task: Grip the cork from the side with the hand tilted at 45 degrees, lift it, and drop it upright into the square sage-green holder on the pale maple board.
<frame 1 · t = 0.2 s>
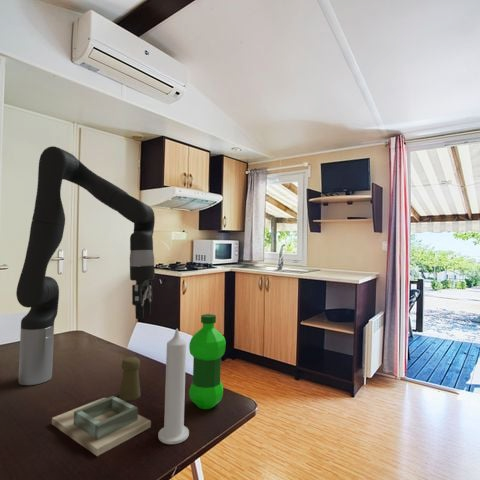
hand: (143, 316, 101), 22 cm above the table, tool pointing down, fingers open, 8 cm apart
plastic bottle: (206, 405, 91), on the table
candle: (173, 436, 76), on the table
cork: (129, 396, 95), on the table
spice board: (101, 425, 79), on the table
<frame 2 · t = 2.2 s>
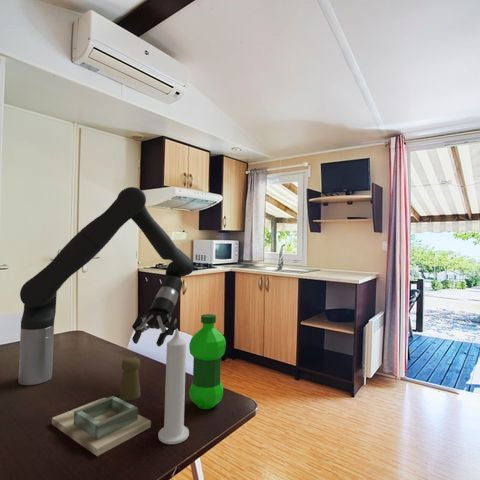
hand: (146, 343, 103), 13 cm above the table, tool tilted 45°, fingers open, 8 cm apart
nothing on the table moved.
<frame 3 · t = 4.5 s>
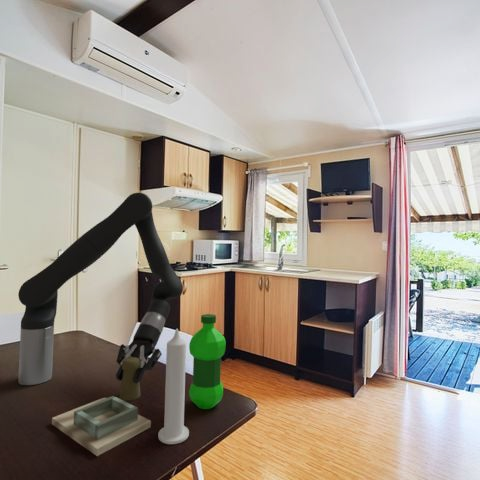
hand: (126, 380, 94), 5 cm above the table, tool tilted 45°, fingers closed on cork, 5 cm apart
cork: (129, 396, 95), on the table, touching gripper
everything else where it was.
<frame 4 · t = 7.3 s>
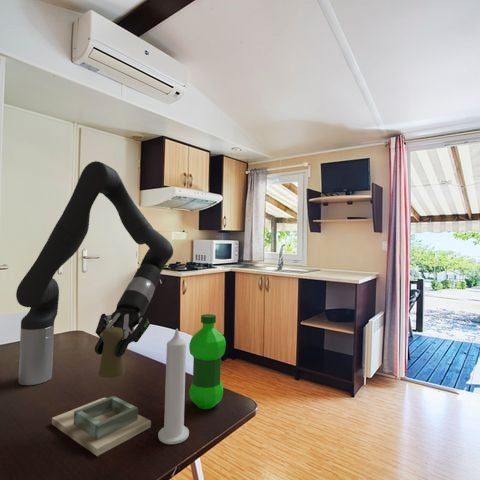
hand: (107, 354, 78), 18 cm above the table, tool tilted 45°, fingers closed on cork, 5 cm apart
cork: (111, 373, 80), point 13 cm above the table, touching gripper
everything else where it was.
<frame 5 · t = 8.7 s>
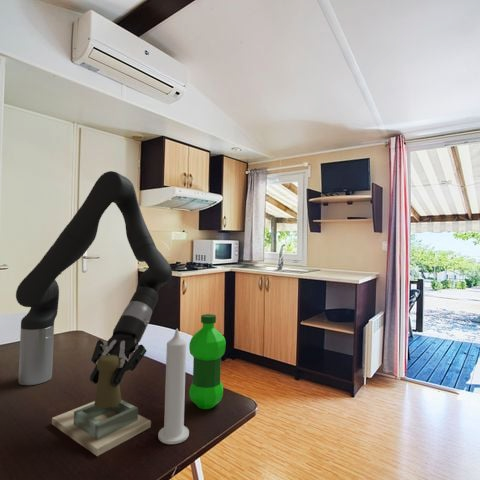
hand: (103, 383, 77), 11 cm above the table, tool tilted 45°, fingers closed on cork, 5 cm apart
cork: (108, 402, 78), point 6 cm above the table, touching gripper
everything else where it was.
when the fingers open (7 cm above the table, at t = 9.9 s): cork stays where it is, resting on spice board.
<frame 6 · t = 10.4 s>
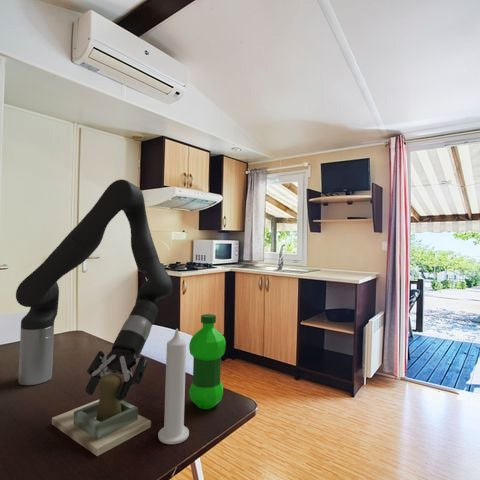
hand: (103, 396, 77), 8 cm above the table, tool tilted 45°, fingers open, 8 cm apart
cork: (108, 422, 78), point 1 cm above the table, touching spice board
everything else where it was.
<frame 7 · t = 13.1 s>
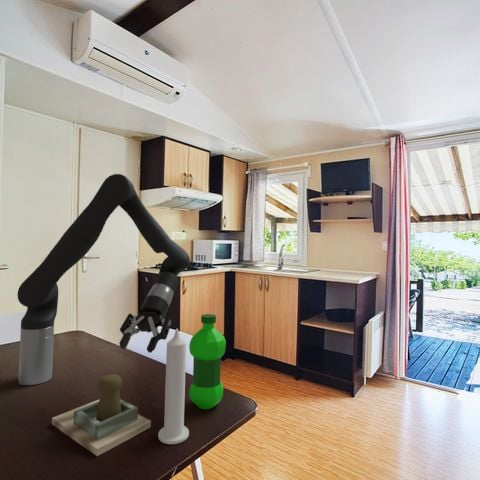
hand: (135, 349, 89), 16 cm above the table, tool tilted 45°, fingers open, 8 cm apart
nothing on the table moved.
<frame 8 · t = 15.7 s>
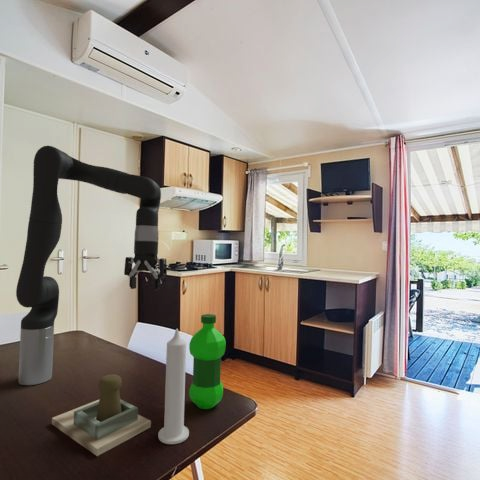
hand: (144, 289, 105), 30 cm above the table, tool pointing down, fingers open, 8 cm apart
nothing on the table moved.
at the end: cork 0.6 cm from the target spot on the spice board, point 1.3 cm above the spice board's base; cork tilted 0°; the gripper is holding nothing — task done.
